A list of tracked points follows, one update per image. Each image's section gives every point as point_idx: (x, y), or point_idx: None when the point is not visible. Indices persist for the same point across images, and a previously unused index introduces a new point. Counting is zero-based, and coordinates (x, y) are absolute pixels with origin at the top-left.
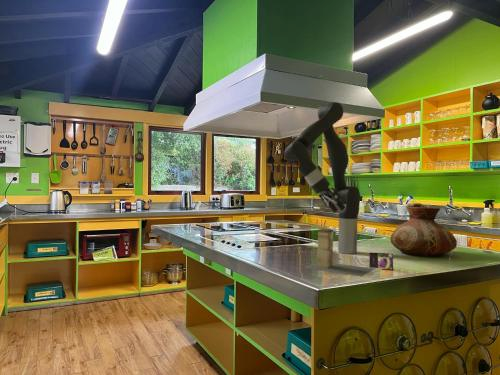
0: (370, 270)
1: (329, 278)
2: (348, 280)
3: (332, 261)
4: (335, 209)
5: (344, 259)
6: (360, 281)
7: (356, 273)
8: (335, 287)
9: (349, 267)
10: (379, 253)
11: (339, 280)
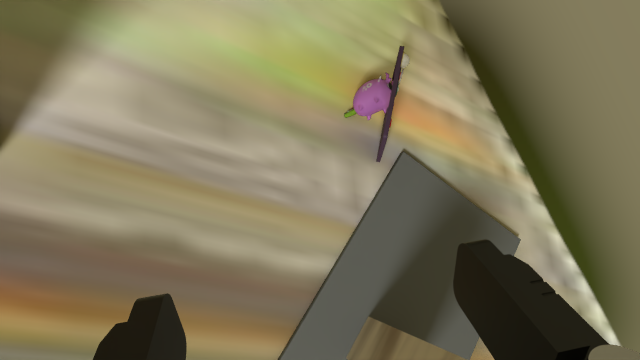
0: (434, 177)
1: None
2: None
3: (378, 321)
4: (168, 337)
5: (179, 216)
6: (552, 255)
7: None
8: None
9: (395, 247)
10: (394, 97)
11: None
